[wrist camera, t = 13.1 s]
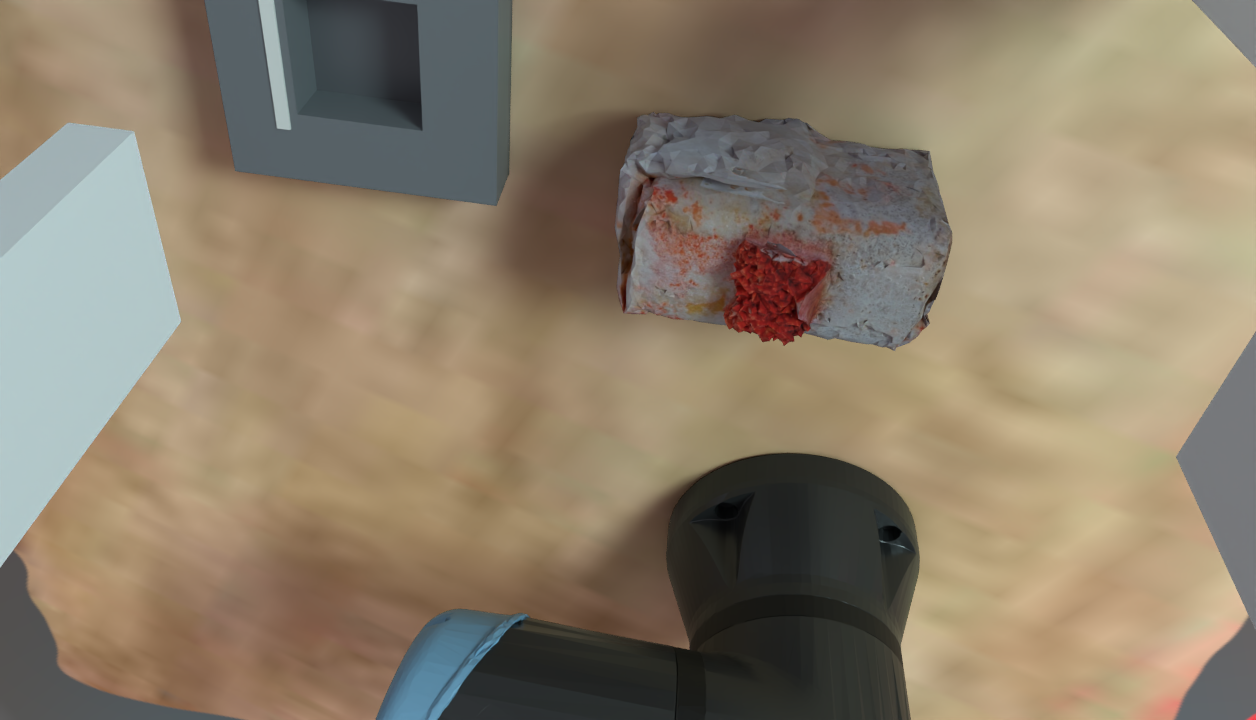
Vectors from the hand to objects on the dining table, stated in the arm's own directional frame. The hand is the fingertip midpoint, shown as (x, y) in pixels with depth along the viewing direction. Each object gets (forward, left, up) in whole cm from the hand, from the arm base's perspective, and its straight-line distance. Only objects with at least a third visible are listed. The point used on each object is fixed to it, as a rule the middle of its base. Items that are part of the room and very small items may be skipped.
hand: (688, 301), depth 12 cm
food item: (-16, -4, -32) cm, 36 cm away
